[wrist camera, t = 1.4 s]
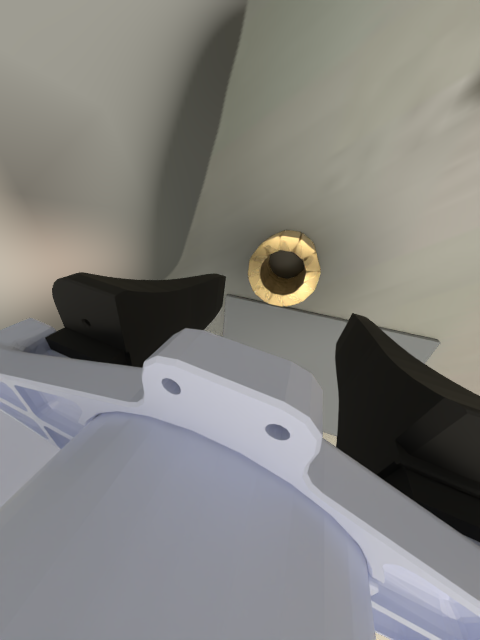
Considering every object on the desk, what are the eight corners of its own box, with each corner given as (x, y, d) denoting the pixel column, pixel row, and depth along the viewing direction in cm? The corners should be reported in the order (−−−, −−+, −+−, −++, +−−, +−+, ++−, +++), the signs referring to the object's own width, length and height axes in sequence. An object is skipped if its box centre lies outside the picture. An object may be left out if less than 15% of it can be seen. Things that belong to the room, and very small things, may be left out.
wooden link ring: (256, 281, 22) (244, 298, 18) (264, 226, 20) (253, 231, 15) (307, 292, 21) (308, 312, 17) (324, 235, 19) (329, 243, 14)
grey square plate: (219, 395, 33) (203, 429, 28) (227, 294, 24) (206, 316, 19) (362, 441, 29) (374, 490, 24) (437, 339, 20) (482, 384, 15)
